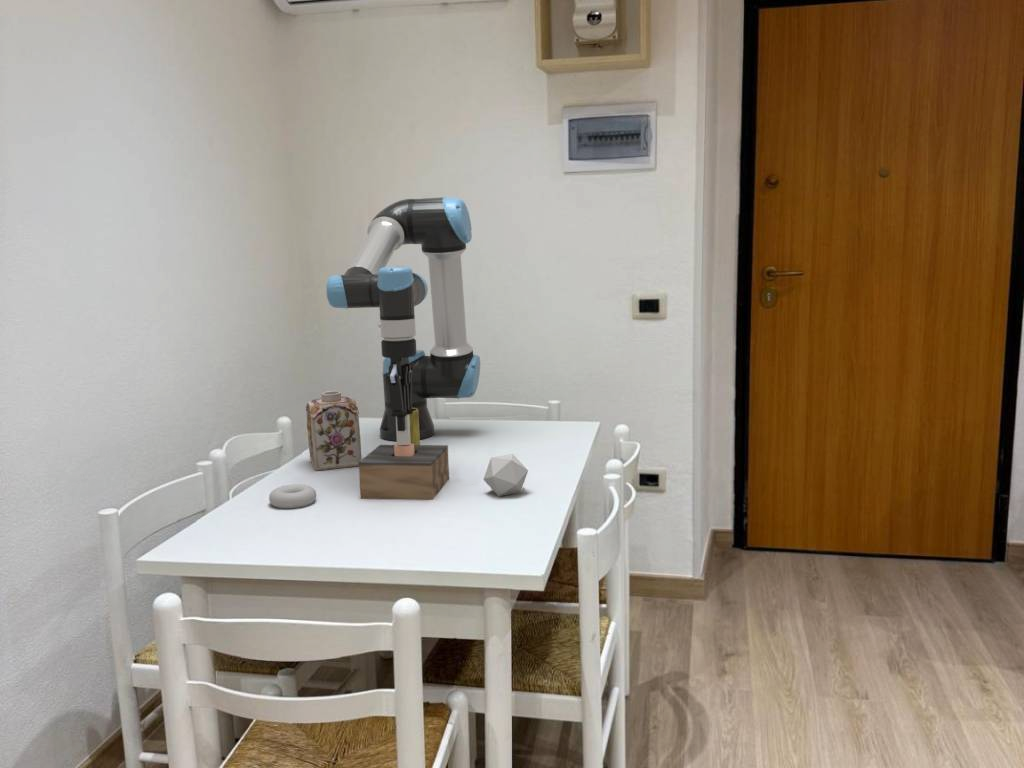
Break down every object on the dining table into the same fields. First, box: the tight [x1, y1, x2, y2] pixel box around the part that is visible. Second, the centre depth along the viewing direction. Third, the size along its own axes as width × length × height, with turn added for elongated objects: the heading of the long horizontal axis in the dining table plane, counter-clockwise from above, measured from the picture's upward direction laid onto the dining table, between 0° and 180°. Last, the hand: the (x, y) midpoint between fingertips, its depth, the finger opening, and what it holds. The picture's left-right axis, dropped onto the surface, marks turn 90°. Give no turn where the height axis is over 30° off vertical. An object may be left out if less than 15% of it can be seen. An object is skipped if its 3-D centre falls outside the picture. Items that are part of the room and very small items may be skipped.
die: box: [483, 453, 529, 497], centre depth 208 cm, size 8×9×10 cm
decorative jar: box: [305, 390, 362, 472], centre depth 237 cm, size 12×12×18 cm
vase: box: [408, 408, 421, 445], centre depth 231 cm, size 6×6×14 cm
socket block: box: [358, 444, 450, 500], centre depth 214 cm, size 16×16×8 cm
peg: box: [393, 443, 415, 456], centre depth 214 cm, size 4×4×8 cm
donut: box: [268, 483, 317, 509], centre depth 206 cm, size 10×3×10 cm
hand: (403, 444), depth 213 cm, fingers closed
